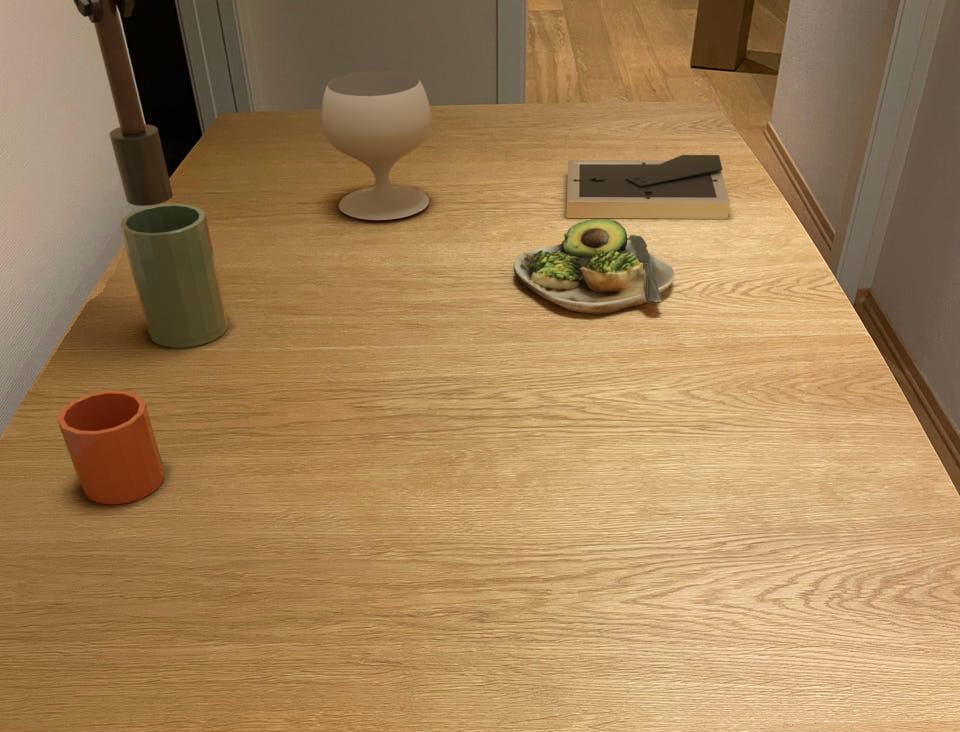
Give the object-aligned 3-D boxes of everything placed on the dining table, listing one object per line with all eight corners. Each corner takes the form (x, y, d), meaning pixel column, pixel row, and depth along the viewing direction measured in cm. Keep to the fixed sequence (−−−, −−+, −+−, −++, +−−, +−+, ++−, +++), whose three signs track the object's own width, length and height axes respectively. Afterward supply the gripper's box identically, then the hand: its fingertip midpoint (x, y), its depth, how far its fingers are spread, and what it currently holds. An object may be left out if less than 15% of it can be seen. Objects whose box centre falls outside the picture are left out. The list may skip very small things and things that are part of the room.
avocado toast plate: (717, 301, 112) (723, 260, 109) (578, 337, 107) (580, 295, 103) (624, 241, 125) (627, 203, 122) (496, 271, 119) (495, 231, 116)
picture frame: (716, 176, 141) (567, 175, 142) (719, 154, 139) (568, 154, 140) (727, 218, 129) (566, 218, 131) (731, 196, 128) (566, 195, 129)
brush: (123, 207, 96) (58, -42, 82) (129, 190, 99) (67, -52, 86) (170, 204, 96) (112, -45, 83) (174, 187, 100) (120, -55, 86)
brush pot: (76, 508, 86) (50, 437, 81) (90, 462, 91) (66, 393, 86) (159, 501, 87) (138, 430, 82) (168, 455, 92) (149, 386, 87)
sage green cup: (145, 351, 107) (114, 237, 99) (154, 315, 113) (126, 206, 105) (225, 344, 107) (201, 231, 99) (230, 310, 114) (207, 201, 105)
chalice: (367, 234, 129) (354, 106, 118) (313, 203, 137) (297, 81, 127) (456, 208, 134) (451, 84, 124) (399, 180, 143) (390, 61, 133)
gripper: (93, -151, 91) (182, 29, 92) (-65, -135, 85) (32, 57, 86) (98, -226, 84) (194, -31, 85) (-73, -215, 78) (32, -6, 79)
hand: (112, 12), depth 86 cm, fingers closed on brush, 2 cm apart
